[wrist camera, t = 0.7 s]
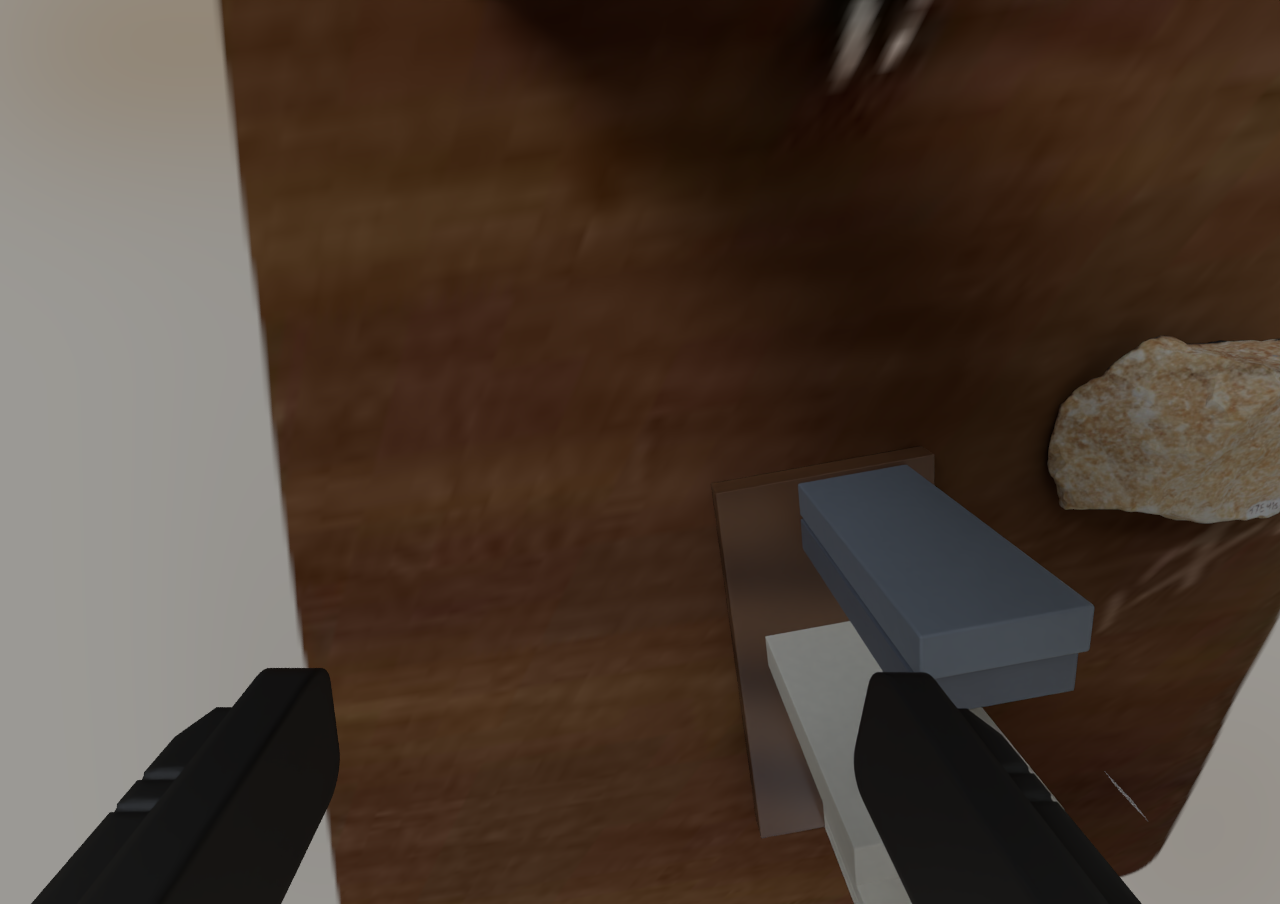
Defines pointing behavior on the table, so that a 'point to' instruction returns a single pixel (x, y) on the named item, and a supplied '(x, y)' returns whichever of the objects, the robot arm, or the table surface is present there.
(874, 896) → the cream books
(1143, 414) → the stone
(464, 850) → the table surface
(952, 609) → the grey books
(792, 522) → the shelf board
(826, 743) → the white rectangular block
